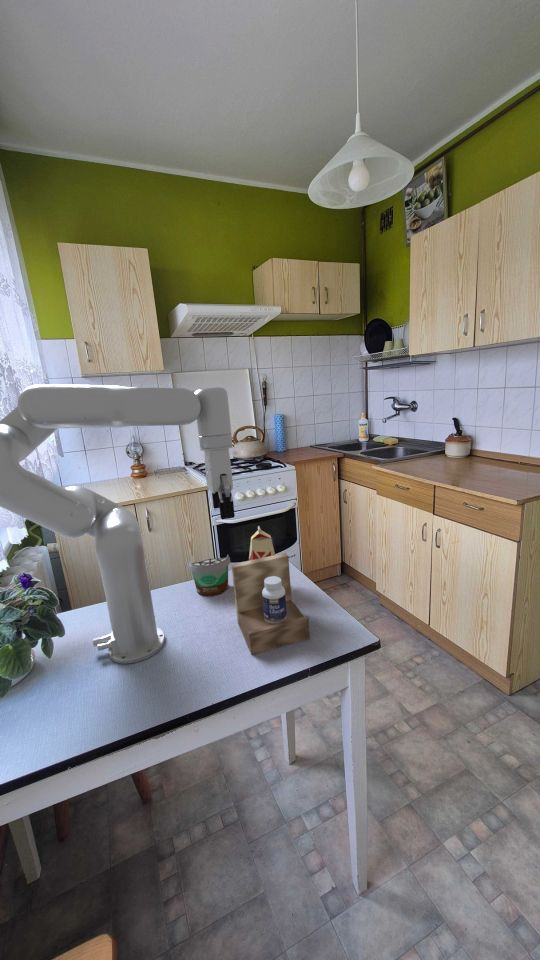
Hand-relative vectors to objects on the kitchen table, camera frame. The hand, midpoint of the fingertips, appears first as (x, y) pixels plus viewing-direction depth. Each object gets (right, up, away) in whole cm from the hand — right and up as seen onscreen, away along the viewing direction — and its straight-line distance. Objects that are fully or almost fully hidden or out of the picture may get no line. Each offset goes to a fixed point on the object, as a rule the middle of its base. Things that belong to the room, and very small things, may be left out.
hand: (223, 512), depth 93 cm
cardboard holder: (+12, -28, -1) cm, 31 cm away
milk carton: (+10, -25, +18) cm, 32 cm away
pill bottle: (+13, -25, -3) cm, 28 cm away
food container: (-5, -25, +19) cm, 32 cm away
